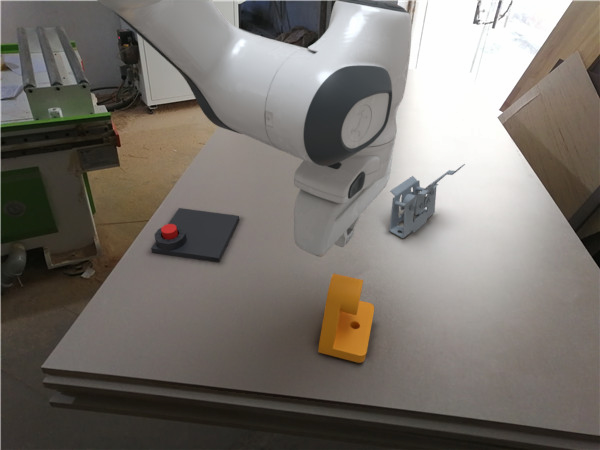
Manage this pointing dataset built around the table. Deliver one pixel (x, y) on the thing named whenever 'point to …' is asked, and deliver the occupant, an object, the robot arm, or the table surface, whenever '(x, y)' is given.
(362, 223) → the table surface
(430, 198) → the bracket
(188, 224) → the scale
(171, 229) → the button
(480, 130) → the table surface
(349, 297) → the bracket
